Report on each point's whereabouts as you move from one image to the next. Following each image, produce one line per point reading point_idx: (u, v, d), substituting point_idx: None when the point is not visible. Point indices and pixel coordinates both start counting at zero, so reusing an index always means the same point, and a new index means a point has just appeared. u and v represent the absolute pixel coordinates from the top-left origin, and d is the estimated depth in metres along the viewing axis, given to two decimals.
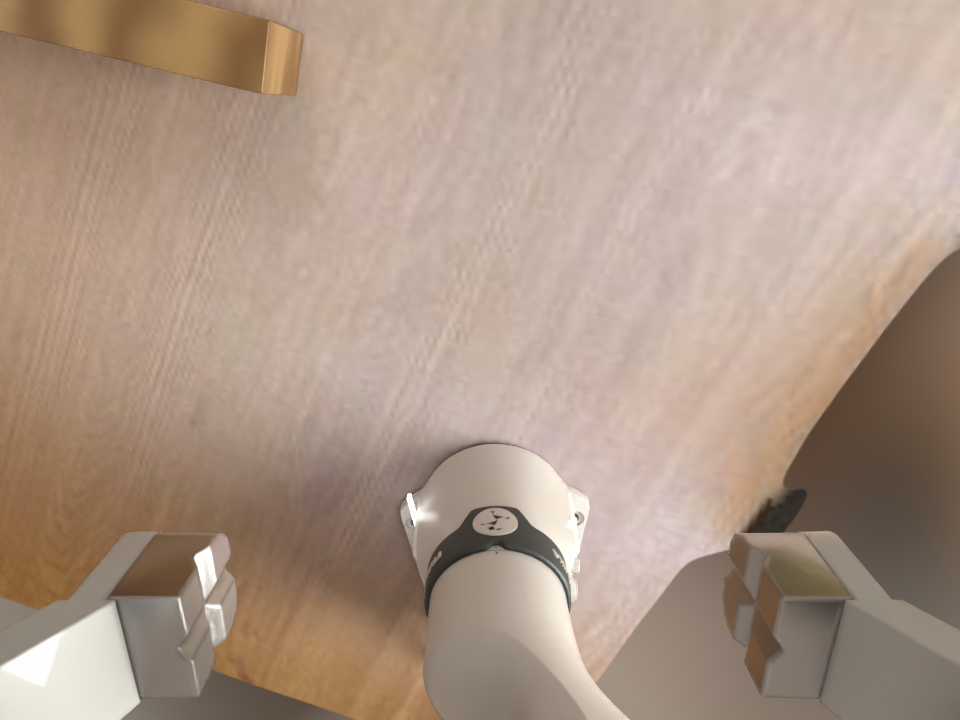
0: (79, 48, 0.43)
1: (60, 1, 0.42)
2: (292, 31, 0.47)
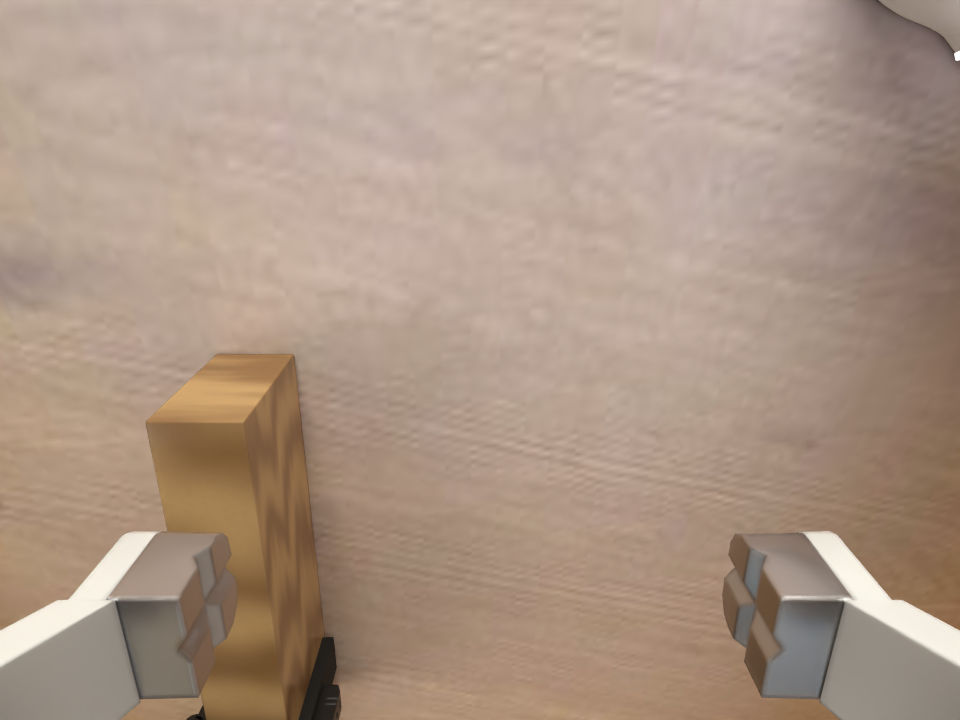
0: (271, 627, 0.34)
1: (226, 644, 0.34)
2: (196, 374, 0.35)
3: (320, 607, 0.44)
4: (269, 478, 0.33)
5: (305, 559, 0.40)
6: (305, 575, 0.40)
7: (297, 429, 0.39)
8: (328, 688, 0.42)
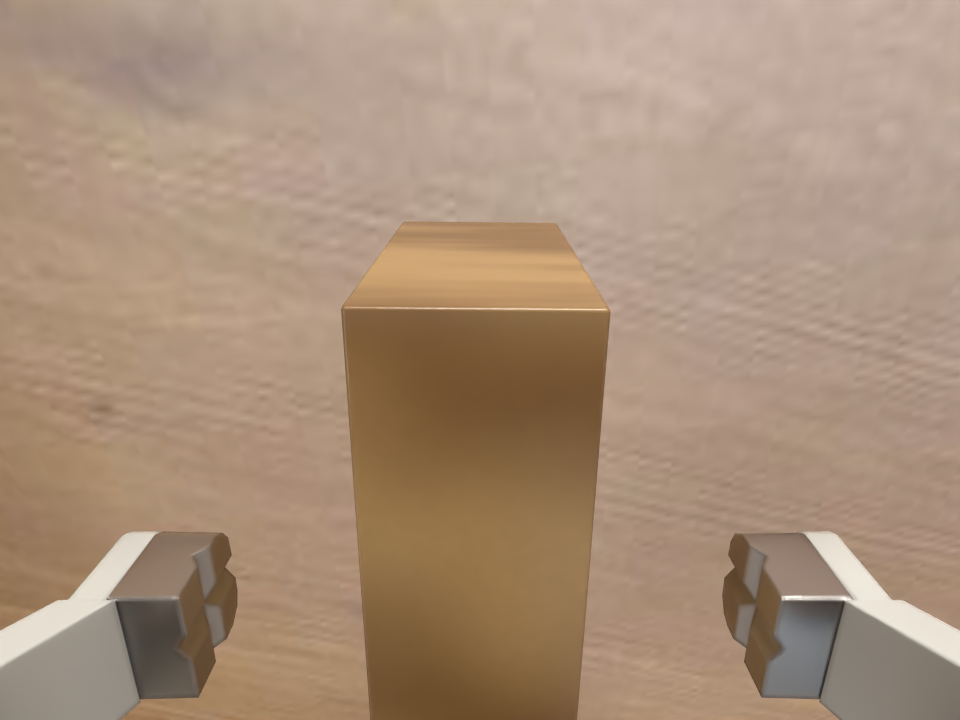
0: None
1: None
2: (392, 241, 0.16)
3: None
4: None
5: None
6: None
7: None
8: None
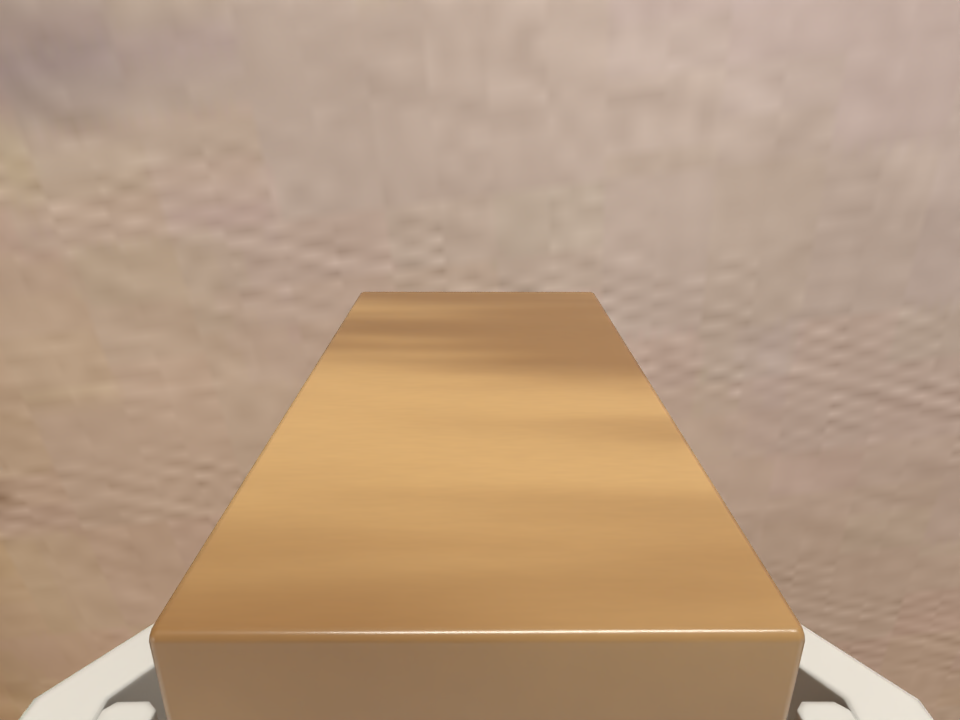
0: None
1: None
2: (332, 346, 0.10)
3: None
4: None
5: None
6: None
7: None
8: None
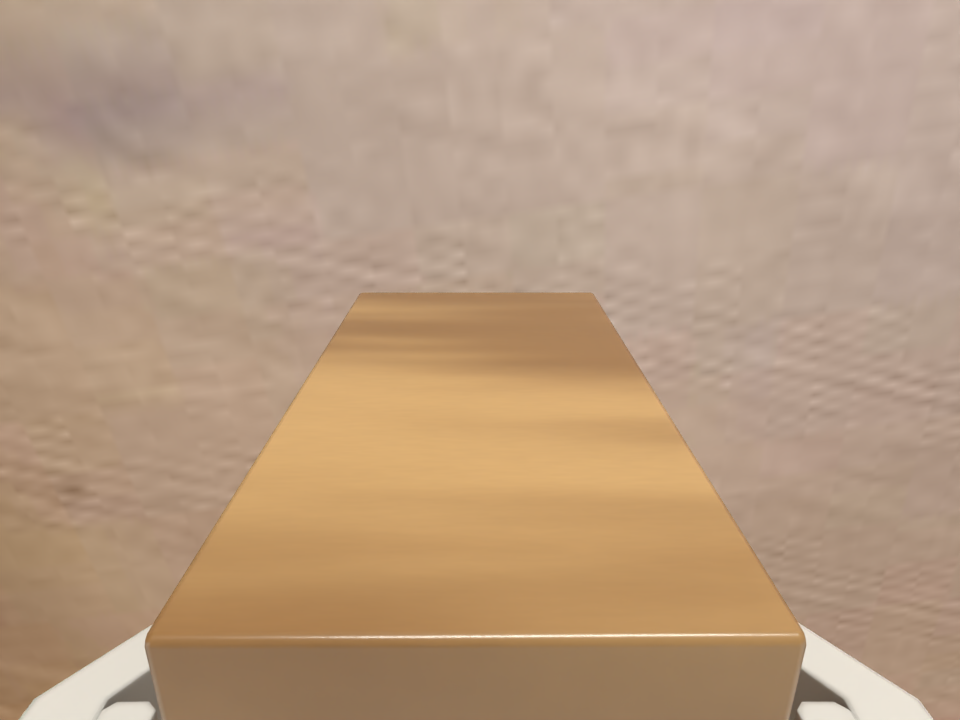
0: None
1: None
2: (331, 348, 0.10)
3: None
4: None
5: None
6: None
7: None
8: None
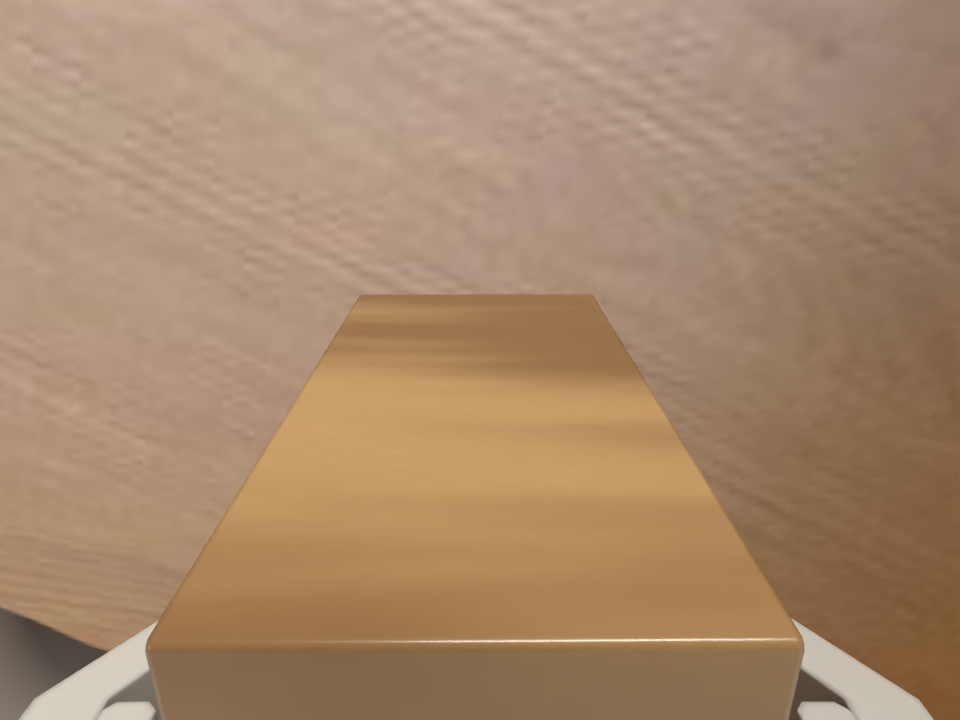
0: None
1: None
2: (331, 350, 0.10)
3: None
4: None
5: None
6: None
7: None
8: None
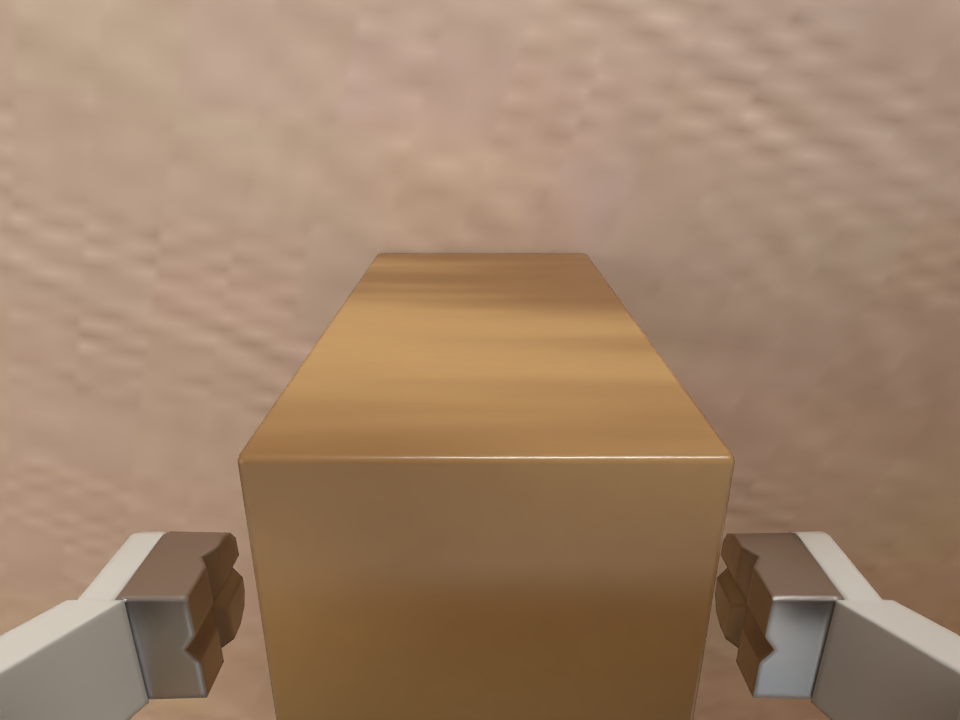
0: None
1: None
2: (357, 291, 0.11)
3: None
4: None
5: None
6: None
7: None
8: None
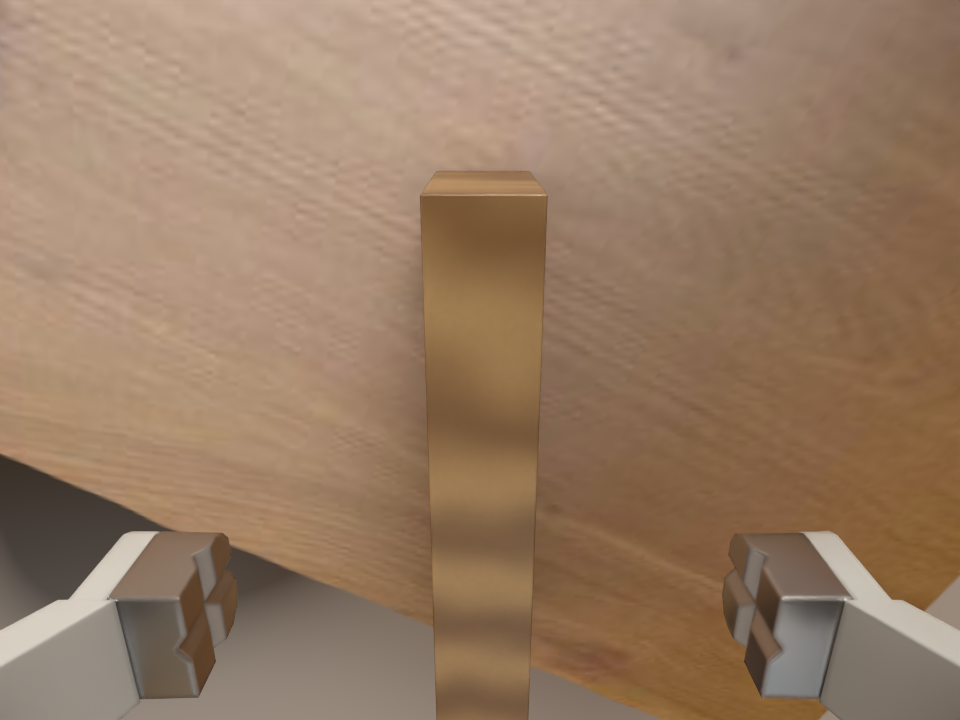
0: (534, 486, 0.27)
1: (474, 510, 0.28)
2: (433, 177, 0.28)
3: None
4: None
5: None
6: None
7: None
8: None
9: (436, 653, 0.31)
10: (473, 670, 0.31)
